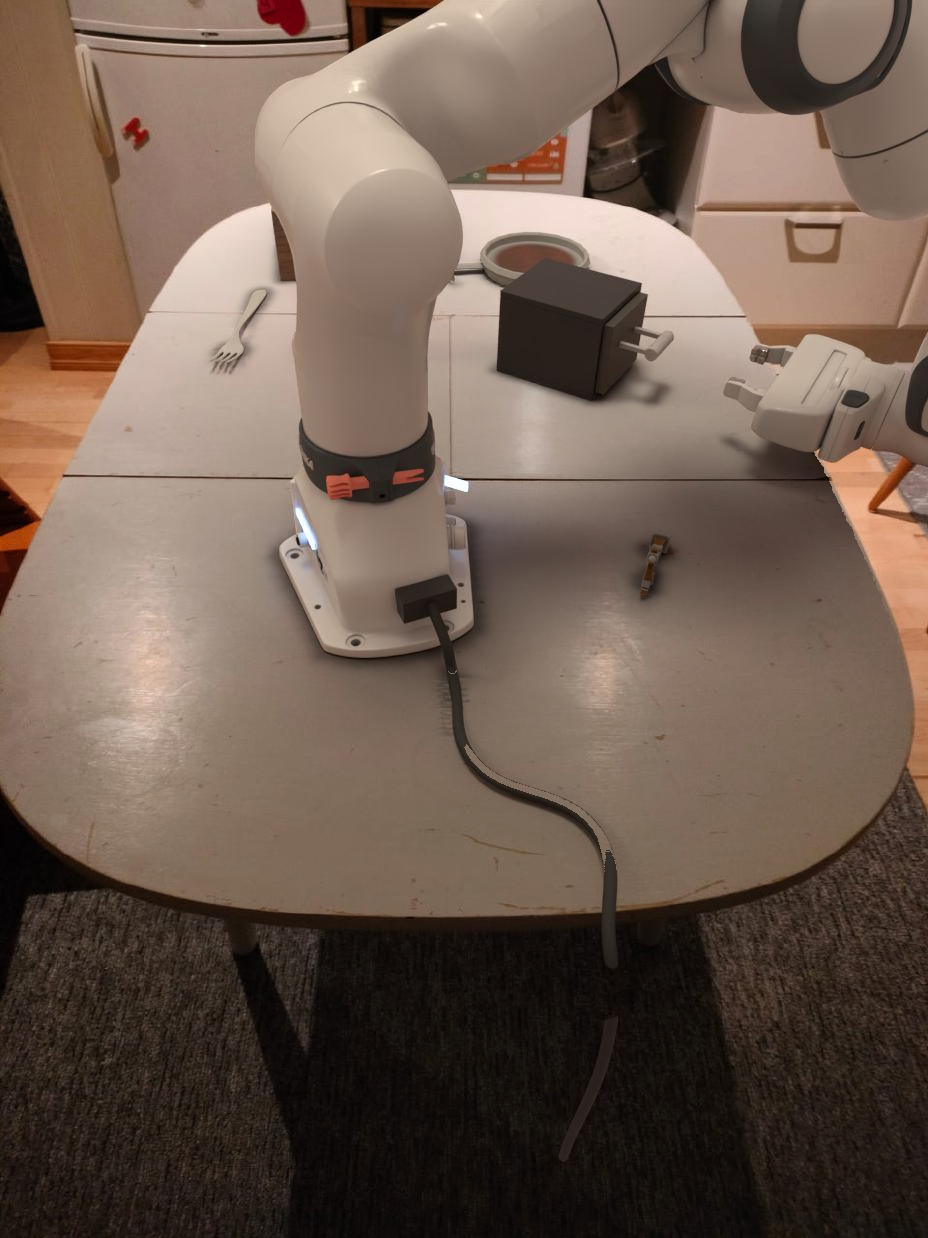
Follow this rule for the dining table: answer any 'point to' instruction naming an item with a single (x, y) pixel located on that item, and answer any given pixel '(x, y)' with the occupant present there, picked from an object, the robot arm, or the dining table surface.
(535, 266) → the drawer box
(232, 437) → the dining table surface
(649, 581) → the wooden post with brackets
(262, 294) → the fork
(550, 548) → the dining table surface
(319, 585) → the robot arm
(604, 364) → the dark grey drawer
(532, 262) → the frying pan
